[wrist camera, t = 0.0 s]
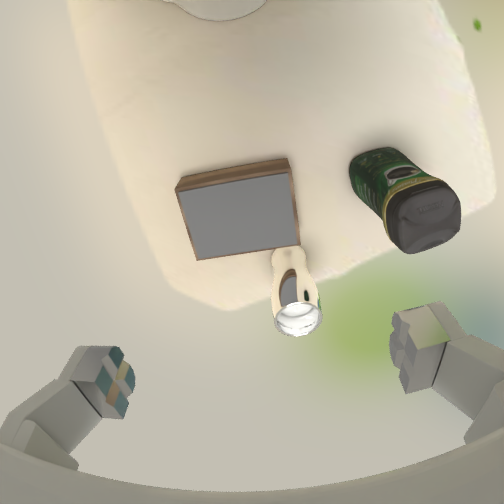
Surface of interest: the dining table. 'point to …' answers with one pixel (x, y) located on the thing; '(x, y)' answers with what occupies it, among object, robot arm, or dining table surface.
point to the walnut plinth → (240, 209)
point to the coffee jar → (406, 200)
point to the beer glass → (294, 293)
